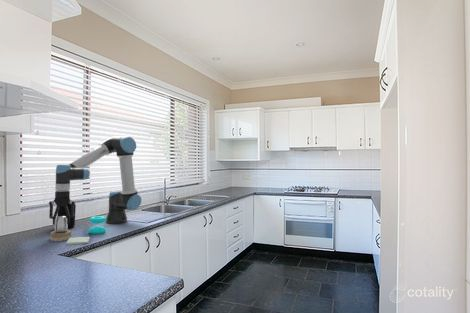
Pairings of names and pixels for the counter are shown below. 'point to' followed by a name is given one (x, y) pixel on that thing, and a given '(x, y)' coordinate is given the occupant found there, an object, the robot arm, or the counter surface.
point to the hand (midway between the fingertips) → (61, 229)
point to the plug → (61, 224)
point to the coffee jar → (63, 213)
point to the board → (78, 240)
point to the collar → (60, 236)
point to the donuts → (97, 228)
